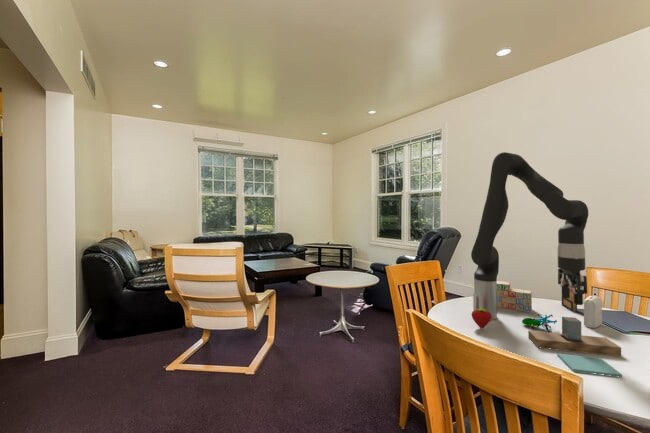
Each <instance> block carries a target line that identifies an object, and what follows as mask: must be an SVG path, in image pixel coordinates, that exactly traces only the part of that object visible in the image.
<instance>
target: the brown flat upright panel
mask: <svg viewBox="0 0 650 433" xmlns="http://www.w3.org/2000/svg"><path fill="white" fill-rule="evenodd" d="M568 288H570V297H569V298H563V297H562V296H561V307H563V308H565V309H566V310H568V311H570V312H571V313H578V305H576V304H574V294H575V293H574V291H573V288H571V287H568Z"/></svg>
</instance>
